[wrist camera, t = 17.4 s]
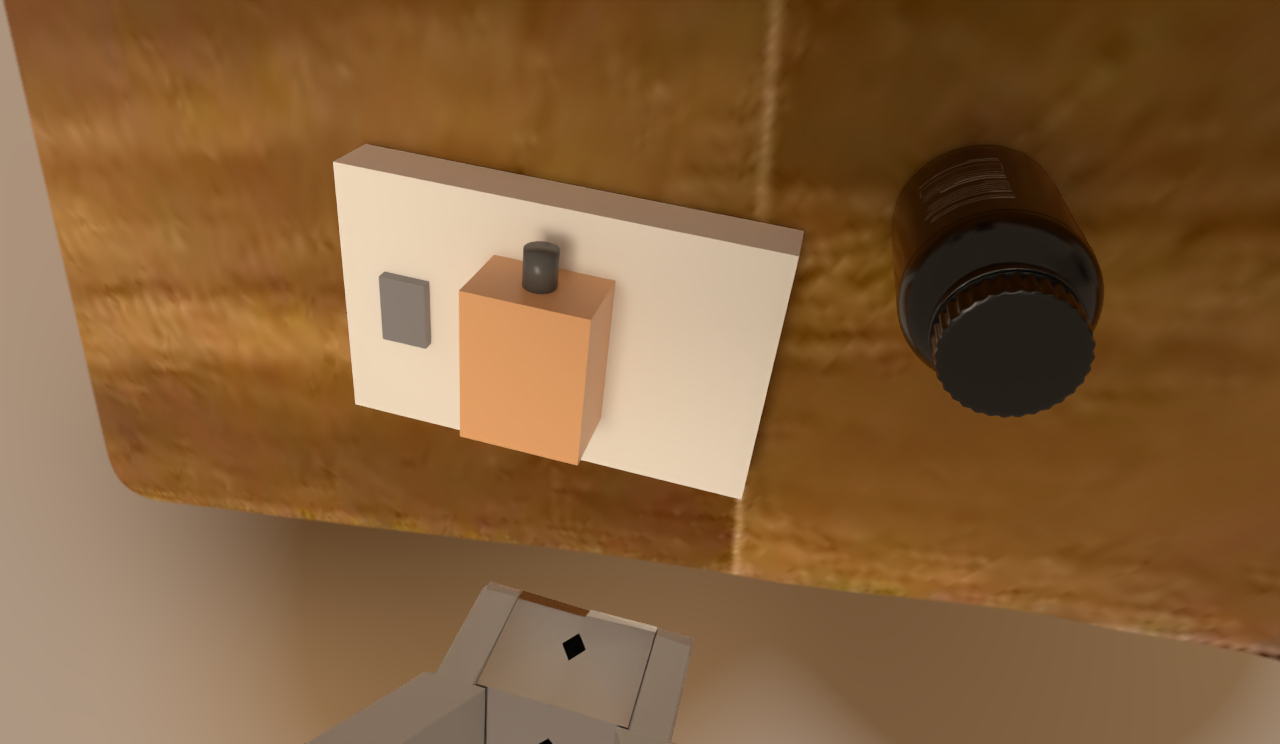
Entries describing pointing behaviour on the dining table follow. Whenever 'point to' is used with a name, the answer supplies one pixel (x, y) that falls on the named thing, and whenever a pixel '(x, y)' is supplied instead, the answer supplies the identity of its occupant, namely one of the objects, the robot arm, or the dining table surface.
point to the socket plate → (589, 244)
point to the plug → (533, 354)
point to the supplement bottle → (995, 281)
